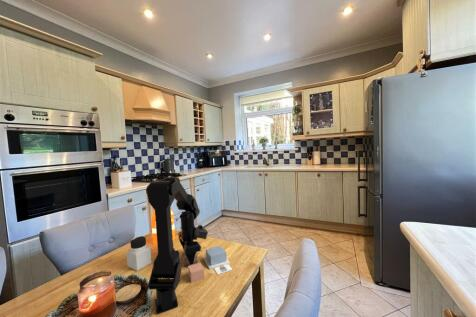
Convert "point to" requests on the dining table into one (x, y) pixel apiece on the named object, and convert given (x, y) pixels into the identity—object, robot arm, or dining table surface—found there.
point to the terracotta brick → (196, 272)
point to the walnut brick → (185, 260)
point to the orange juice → (155, 227)
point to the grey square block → (216, 257)
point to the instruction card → (223, 269)
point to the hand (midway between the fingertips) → (189, 259)
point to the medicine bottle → (138, 253)
